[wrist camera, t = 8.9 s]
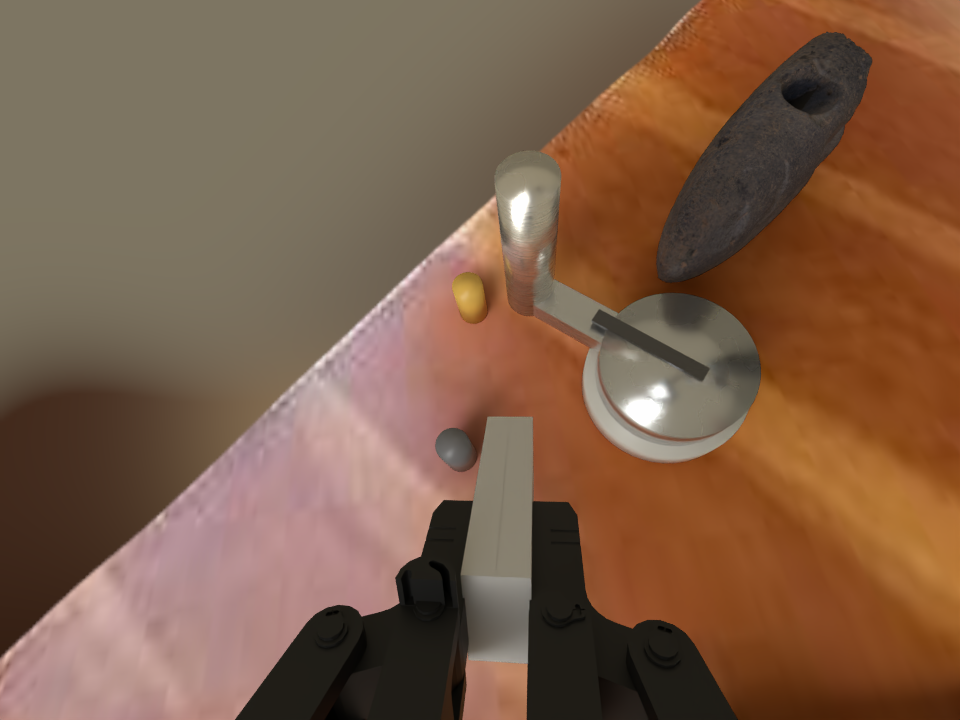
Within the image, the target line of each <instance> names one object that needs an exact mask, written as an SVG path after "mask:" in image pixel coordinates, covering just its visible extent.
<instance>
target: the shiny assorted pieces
mask: <svg viewBox="0 0 960 720" xmlns="http://www.w3.org/2000/svg"><path fill="white" fill-rule="evenodd" d="M452 289H453V292H454V296H455V299H456V302H457V305H458V308H459V311H460V314H461V317H462V319H463V320H464V321H466V322H467V323H471V324H476V323H479V322H481V321H483V320H484V319H485V317H486V316H487V312H488V309H487V304H486V299H485V294H484V289H483V284H482V280H481V278H480V277H479V276H478V275H476V274H474V273H471V272H466V273H462V274H460V275H458V276H457V277H456V278H455V279H454V281H453V284H452ZM597 355H598V352H597V351H595V350H593V349H591V348H590V349H589V351H588V354H587V357H586V361H585V365H584V369H583V374H582V394H583V399H584V403H585V406H586V409H587V412H588V414H589V416H590V418H591V420H592V421H593V423H594V424H595V426H596V427H597V429H598V430H599V431H600V432H601V433H602V434H603V436H604V437H605V438H606V439H608V440H609V441H610V442H611V443H612V444H613V445H615V446H616V447H618V448H619V449H621V450H622V451H624V452H626V453H628V454H630V455H632V456H634V457H637V458H640V459H642V460H646V461H650V462H657V463H679V462H686V461H689V460H693V459H696V458H698V457H701V456H703V455H705V454H707V453H709V452H710V451H712V450H714V449H716V448H717V447H719V446H720V445H722V444H724V443H725V442H726V441H727V440H729V439H730V438H731V437H732V436H733V435H734V434H735V433H736V431H737V430H738V429H739V428H740V426H741V424H742V423H743V421H744V420H745V417H746V415H747V412H748V411H747V412H746V413H745V414H744V415H743V416H742V417H741V418H740V419H739V420H738V421H736V422H735V423H734V424H732V425H731V426H729V427H728V428H726V429H725V430H723V431H721V432H720V433H718V434H717V435H715V436H713V437H712V438H710V439H708V440H705V441H703V442H700V443H697V444H693V445H687V446H665V445H659V444H655V443H651V442H648V441H646V440H643V439H641V438H639V437H637V436H635V435H633V434H632V433H630V432H629V431H627V430H626V429H624V428H623V427H622V426H621V425H620V424H619V423H617V422H616V421H615V419H614V418H613V417H612V416H611V415H610V414H609V412H608V411H607V409H606V408H605V406H604V404H603V402H602V400H601V398H600V396H599V393H598V390H597V386H596V381H595V365H596V360H597ZM748 410H749V409H748ZM435 447H436V452H437V454H438V455H439V457H440V458H441V459H442V460H443V461H444V462H445V463H447V464H448V465H449V466H450V467H451V468H452V469H453V470H455V471H458V472H464V471H467V470H469V469H470V468H472V467H473V465H474V464H475V462H476V458H477V453H476V450H475V448H474V446H473V445H472V443H471V441H470V440H469V438H468V436H467V435H466V434H465V433H464V432H463V431H462V430H460V429H457V428H449V429H446V430H444V431H443V432H442V433H440V435H439V436H438V438H437V440H436V445H435Z"/></svg>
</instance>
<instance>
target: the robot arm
mask: <svg viewBox="0 0 960 720" xmlns="http://www.w3.org/2000/svg"><path fill="white" fill-rule="evenodd" d="M395 579H396V585H397V590H398V596H399V602H400V603H399V604H398V605H396V606H394V607H392V608H391V609H388V610H385V611H382V612H379V613H375V614H371V615H367V616H363V617H361V615H360V614H359V612H358V611H357V610H356V609H354V608H352V607H350V606H344V605H336V606H332V607H328V608H325V609H324V610H322V611H320V612H318V613H317V614H315V615H314V616H313V617H312V618H311V619H310V620H309V621H308V622H307V623H306V625H305V626H304V627H303V629H302V630H301V631H300V633H299V634H298V635H297V637H296V638H295V639H294V641H293V642H292V643H291V645H290V646H289V647H288V649H287V650H286V652H285V653H284V654H283V656H282V657H281V658H280V660H279V661H278V662H277V664H276V665H275V666H274V668H273V669H272V670H271V672H270V673H269V675H268V676H267V677H266V679H265V680H264V681H263V683H262V684H261V685H260V687H259V688H258V689H257V691H256V692H255V693H254V695H253V696H252V697H251V699H250V700H249V702H248V703H247V704H246V706H245V707H244V708H243V710H242V711H241V712H240V714H239V715H238V716H237V718H236V719H235V720H462V717H463V709H464V701H465V693H466V672H465V667H466V659H467V652H468V657H469V660H477V661H493V662H508V663H524V664H528V677H527V720H738V719H737V718H736V716H735V714H734V712H733V711H732V709H731V707H730V705H729V704H728V702H727V700H726V698H725V697H724V695H723V693H722V691H721V690H720V688H719V686H718V684H717V683H716V681H715V679H714V677H713V676H712V674H711V672H710V671H709V669H708V667H707V665H706V664H705V662H704V660H703V658H702V657H701V655H700V653H699V651H698V650H697V648H696V646H695V644H694V643H693V642H692V641H691V639H690V638H689V637H688V636H687V634H686V633H685V632H683V631H682V630H680V629H679V628H677V627H676V626H675V625H673V624H670V623H667V622H664V621H661V620H646V621H644V622H641V623H639V624H637V625H636V626H635V627H634V628H633V629H632V628H629V627H626V626H623V625H620V624H617V623H615V622H613V621H611V620H608V619H606V618H605V617H603V616H602V615H601V614H599V613H598V612H597V611H596V610H595V609H594V608H593V606H592V605H591V603H590V602H589V600H588V598H587V594H586V590H585V581H584V572H583V563H582V554H581V546H580V536H579V527H578V518H577V514H576V513H575V511H574V510H573V508H572V507H571V506H570V504H569V503H568V502H540V501H534V472H533V417H488V418H487V424H486V430H485V436H484V441H483V447H482V453H481V459H480V465H479V471H478V476H477V482H476V488H475V494H474V500H473V501H455V500H443V502H442V503H441V504H440V505H439V506H438V507H437V509H436V510H435V511H434V512H433V515H432V519H431V522H430V526H429V530H428V533H427V537H426V541H425V544H424V548H423V552H422V555H421V557H419V558H416V559H414V560H412V561H409V562H408V563H407V564H406V565H405V566H403V567H402V568H401V569H400V571H399V573H398V574H397V576H396V578H395Z"/></svg>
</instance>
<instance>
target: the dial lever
mask: <svg viewBox="0 0 960 720" xmlns="http://www.w3.org/2000/svg"><path fill="white" fill-rule="evenodd" d="M494 180H495V190H496V199H497V207H498V216H499V225H500V234H501V243H502V252H503V261H504V270H505V278H506V287H507V296H508V302H509V304H510V306H511V308H512V309H513V310H514V311H515V312H517V313H519V314H521V315H524V316H535V317H536V318H538V319H540V320H542V321H544V322H545V323H547V324H549V325H551V326H552V327H554V328H556V329H558V330H559V331H561V332H563V333H565V334H567V335H568V336H570V337H572V338H574V339H575V340H577V341H579V342H581V343H582V344H584V345H586V346H588V347H590V348H591V349H593V350H595V351H597V352H598V355H597V360H596V365H595V381H596V386H597V390H598V393H599V396H600V398H601V400H602V402H603V404H604V406H605V408H606V409H607V411H608V412H609V414H610V415H611V416H612V417H613V418H614V419H615V421H616V422H617V423H619V424H620V425H621V426H622V427H623V428H624V429H626V430H627V431H629V432H630V433H632V434H633V435H635V436H637V437H639V438H641V439H643V440H646V441H648V442H651V443H655V444H659V445H665V446H687V445H693V444H697V443H700V442H703V441H705V440H708V439H710V438H712V437H713V436H715V435H717V434H718V433H720V432H721V431H723V430H725V429H726V428H728V427H729V426H731V425H732V424H734V423H735V422H736V421H738V420H739V419H740V418H741V417H742V416H743V415H744V414H745V413H746V412H747V411H748V409H749V408H750V406H751V405H752V403H753V402H754V400H755V397H756V395H757V393H758V389H759V385H760V378H761V366H760V360H759V355H758V352H757V349H756V346H755V344H754V342H753V340H752V338H751V336H750V335H749V333H748V332H747V330H746V329H745V327H744V326H743V325H742V324H741V323H740V322H739V321H738V320H737V319H736V318H735V317H734V316H733V315H732V314H731V313H729V312H728V311H727V310H725V309H724V308H722V307H720V306H719V305H717V304H715V303H713V302H711V301H709V300H706V299H704V298H701V297H697V296H694V295H689V294H682V293H662V294H656V295H652V296H648V297H645V298H642V299H640V300H637V301H635V302H634V303H632V304H630V305H628V306H627V307H626V308H624V309H623V310H622V311H621V312H620V313H617V312H615V311H613V310H611V309H609V308H607V307H606V306H604V305H602V304H600V303H598V302H596V301H594V300H592V299H591V298H589V297H587V296H585V295H583V294H581V293H579V292H577V291H575V290H574V289H572V288H570V287H568V286H566V285H564V284H562V283H560V282H559V281H557V280H555V279H554V275H555V260H556V245H557V230H558V215H559V201H560V186H561V171H560V168H559V166H558V164H557V163H556V161H555V160H554V159H553V158H551V157H550V156H548V155H547V154H544V153H542V152H538V151H522V152H517V153H515V154H512V155H510V156H509V157H507V158H506V159H504V160H503V161H502V162H501V163H500V165H499V166H498V168H497V170H496V172H495V178H494Z"/></svg>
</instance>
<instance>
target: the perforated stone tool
mask: <svg viewBox="0 0 960 720" xmlns="http://www.w3.org/2000/svg"><path fill="white" fill-rule="evenodd" d="M871 64H872V58H871V57H870V56H869V54H868V53H866V52H865V51H864V50H863V49H862V48H861V47H859V46H856V45H855V43H854V42H853V41H851V39H849V38H848V39H847V38H846V36H845V35H844V34H841V33H837V32H834V33H831V32H830V33H828V32H826V33H824V34H821V35H819V36H817V37H815V38H813V39H812V40H811V41H809V42H808V43H807V44H806V45H804V46H803V47H802V48H800V49H799V50H798V51H797V52H796V53H794V54H793V55H792V56H791V57H790V58H788V59H787V60H786V61H785V62H784V63H783V64H782V65H780V66H779V67H778V68H777V69H776V70H775V71H774V72H773V73H772V74H771V75H770V76H769V77H768V78H767V79H766V80H765V81H764V82H763V83H762V84H761V85H760V86H759V87H758V88H757V89H756V90H755V91H754V92H753V93H752V94H751V95H750V97H749V98H748V99H747V100H746V101H745V102H744V103H743V104H742V105H741V106H740V108H739V109H738V110H737V111H736V112H735V113H734V114H733V115H732V116H731V118H730V119H729V120H728V121H727V123H726V124H725V125H724V126H723V128H722V129H721V130H720V131H719V132H718V134H717V135H716V136H715V138H714V139H713V140H712V142H711V143H710V145H709V146H708V147H707V149H706V150H705V152H704V153H703V154H702V156H701V157H700V159H699V161H698V162H697V164H696V165H695V167H694V169H693V170H692V172H691V173H690V175H689V177H688V179H687V180H686V182H685V184H684V186H683V188H682V190H681V191H680V193H679V195H678V197H677V199H676V202H675V204H674V206H673V208H672V209H671V211H670V214H669V216H668V219H667V221H666V223H665V226H664V229H663V232H662V235H661V239H660V242H659V246H658V252H657V263H656V265H657V273H658V278H659V279H660V280H662V281H665V282H669V283H672V282H681V281H685V280H688V279H691V278H693V277H696V276H698V275H701V274H703V273H704V272H706V271H708V270H710V269H712V268H713V267H716V266H717V265H719V264H721V263H722V262H723V261H725V260H727V259H728V258H730V257H731V256H733V255H734V254H735V253H737V252H738V251H739V250H740V249H742V248H743V247H744V246H745V245H746V244H747V243H749V242H750V241H751V240H752V239H753V238H754V237H755V236H756V235H757V234H758V233H760V232H761V231H762V230H763V229H764V228H765V227H766V226H767V225H768V224H769V223H770V222H771V221H772V220H773V219H774V218H775V217H776V216H777V215H778V214H779V213H780V212H781V211H782V210H783V209H784V208H785V207H786V206H787V205H788V204H789V203H790V202H791V200H792V199H793V198H795V196H796V195H797V194H798V193H799V192H800V191H801V189H802V188H803V187H804V186H805V185H806V184H807V182H808V181H809V179H810V178H811V176H812V174H813V173H814V171H815V169H816V168H817V166H818V165H819V164H820V163H821V162H822V161H823V160H824V159H825V158H826V157H827V156H828V155H829V154H830V153H831V152H832V150H833V149H834V148H835V147H836V146H837V145H838V143H839V141H840V139H841V137H842V135H843V133H844V129H845V124H846V123H847V122H848V121H849V120H850V119H851V117H852V116H853V114H854V112H855V109H856V108H857V106H858V105H859V104H860V101H861V99H862V97H863V93H864V91H865V88H866V85H867V76H868V73H869V69H870V66H871Z"/></svg>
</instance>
